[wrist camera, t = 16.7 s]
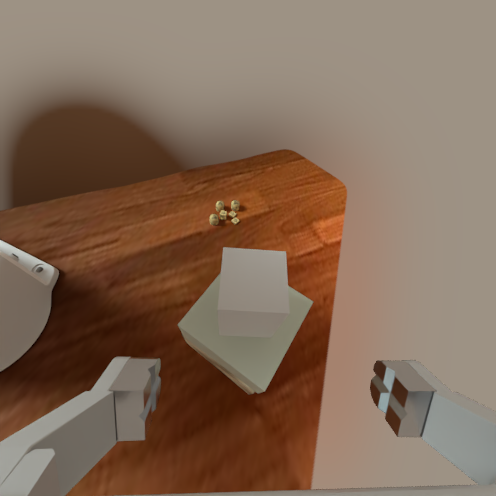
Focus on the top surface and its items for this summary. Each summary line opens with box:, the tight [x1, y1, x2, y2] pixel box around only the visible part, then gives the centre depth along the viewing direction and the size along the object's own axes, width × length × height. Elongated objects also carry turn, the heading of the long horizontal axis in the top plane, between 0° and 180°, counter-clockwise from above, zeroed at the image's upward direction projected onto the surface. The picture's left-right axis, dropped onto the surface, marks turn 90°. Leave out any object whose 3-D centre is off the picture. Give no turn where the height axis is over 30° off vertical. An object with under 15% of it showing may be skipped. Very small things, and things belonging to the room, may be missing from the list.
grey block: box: [218, 247, 290, 338], centre depth 22 cm, size 5×5×8 cm
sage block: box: [178, 273, 313, 393], centre depth 27 cm, size 10×10×5 cm
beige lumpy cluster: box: [210, 200, 240, 225], centre depth 44 cm, size 5×5×2 cm
